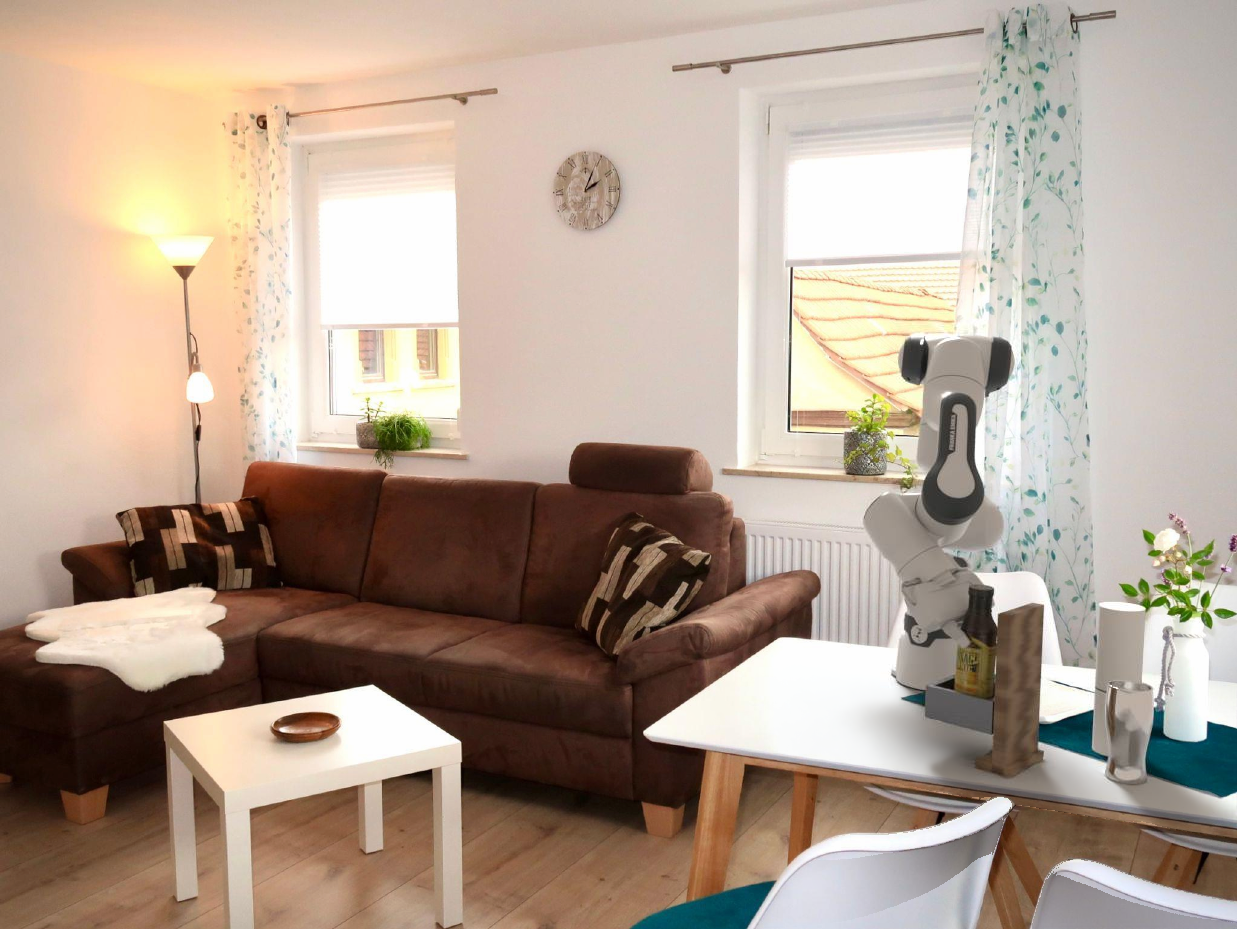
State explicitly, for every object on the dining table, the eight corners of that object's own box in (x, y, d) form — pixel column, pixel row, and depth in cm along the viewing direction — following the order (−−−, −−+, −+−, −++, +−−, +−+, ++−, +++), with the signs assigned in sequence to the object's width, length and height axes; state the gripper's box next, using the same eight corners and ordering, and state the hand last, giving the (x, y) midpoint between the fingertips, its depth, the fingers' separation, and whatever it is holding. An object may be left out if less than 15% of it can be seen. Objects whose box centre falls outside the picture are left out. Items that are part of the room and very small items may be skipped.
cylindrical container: (1135, 761, 178) (1143, 613, 176) (1088, 753, 182) (1095, 607, 179) (1140, 748, 184) (1148, 605, 182) (1095, 740, 188) (1102, 600, 185)
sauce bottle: (946, 699, 182) (950, 583, 180) (975, 695, 185) (979, 581, 183) (973, 710, 176) (978, 590, 175) (1002, 706, 179) (1007, 588, 177)
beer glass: (1155, 787, 167) (1160, 693, 165) (1107, 783, 168) (1112, 690, 167) (1143, 771, 174) (1147, 680, 172) (1097, 767, 175) (1101, 677, 174)
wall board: (1008, 750, 183) (1015, 599, 180) (1043, 759, 178) (1050, 605, 176) (974, 767, 175) (980, 610, 172) (1009, 778, 170) (1016, 617, 168)
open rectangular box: (957, 703, 189) (958, 672, 188) (1026, 720, 180) (1027, 688, 179) (924, 717, 181) (925, 685, 181) (994, 735, 172) (995, 702, 172)
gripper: (908, 572, 176) (961, 642, 170) (970, 557, 190) (1021, 621, 184) (884, 594, 180) (935, 663, 174) (946, 578, 194) (995, 641, 188)
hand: (980, 641), depth 179 cm, fingers closed on sauce bottle, 6 cm apart
